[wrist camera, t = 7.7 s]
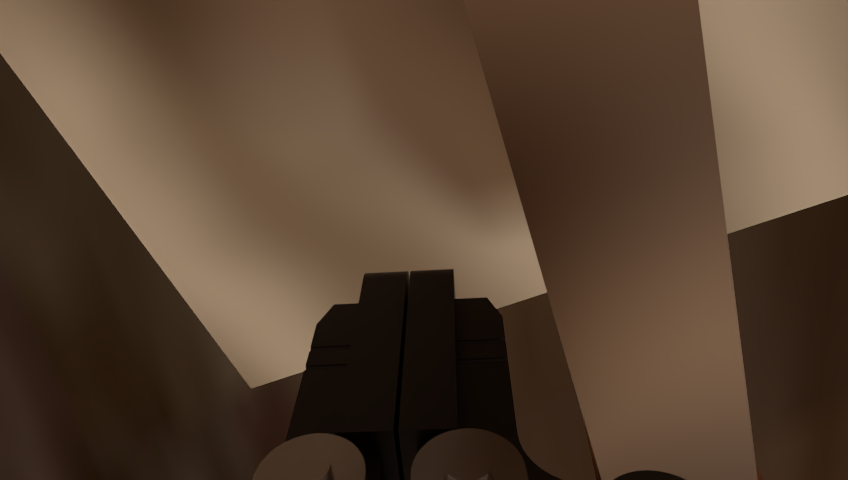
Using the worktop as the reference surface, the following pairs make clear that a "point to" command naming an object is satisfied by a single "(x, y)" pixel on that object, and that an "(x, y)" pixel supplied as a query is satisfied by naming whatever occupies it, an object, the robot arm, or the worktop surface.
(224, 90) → the level stand
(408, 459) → the robot arm
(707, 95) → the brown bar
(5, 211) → the worktop surface
